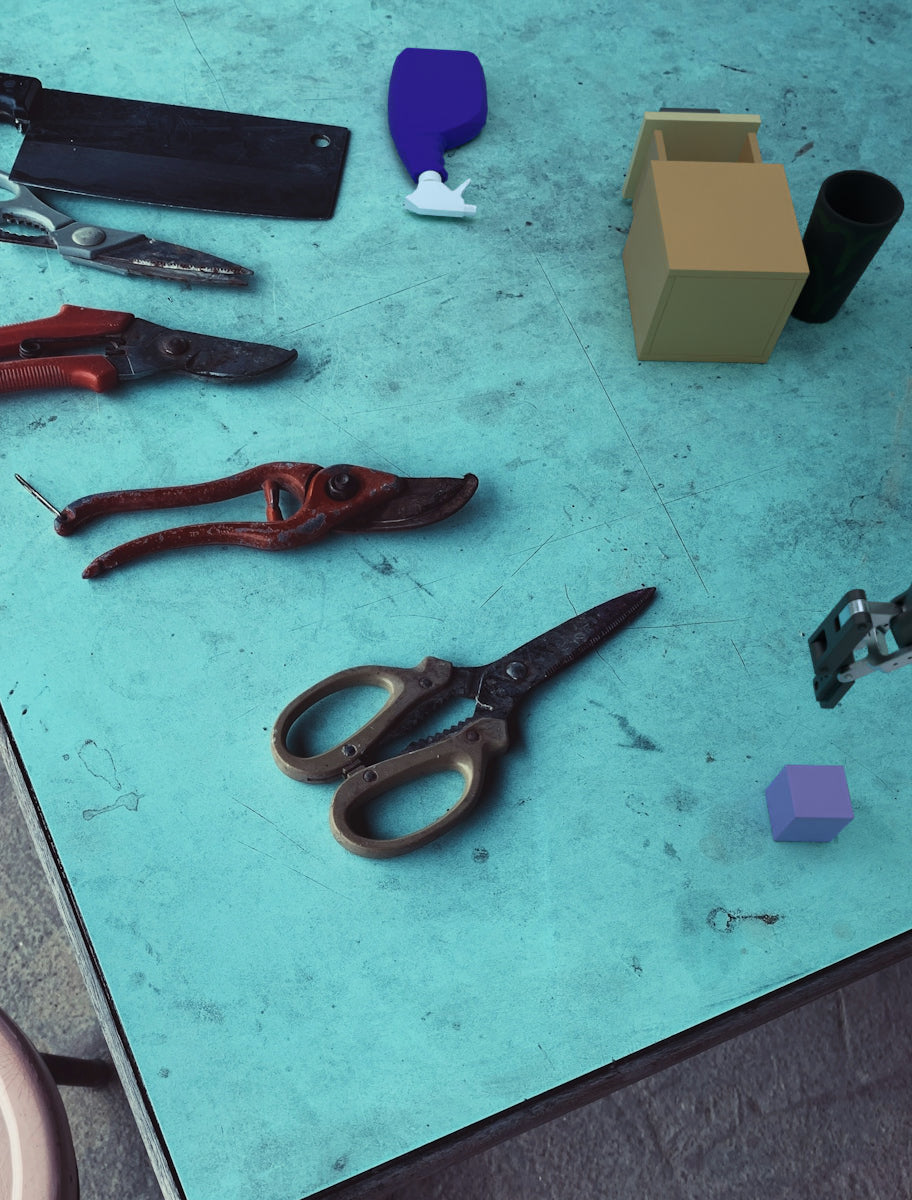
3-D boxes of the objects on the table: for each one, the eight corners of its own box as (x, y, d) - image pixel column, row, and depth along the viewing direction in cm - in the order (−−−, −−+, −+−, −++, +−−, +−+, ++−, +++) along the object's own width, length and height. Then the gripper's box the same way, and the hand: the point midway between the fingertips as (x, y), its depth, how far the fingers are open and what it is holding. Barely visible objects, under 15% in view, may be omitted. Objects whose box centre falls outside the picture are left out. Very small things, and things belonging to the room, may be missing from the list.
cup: (808, 266, 122) (859, 158, 111) (864, 310, 120) (922, 204, 109) (755, 296, 120) (802, 189, 109) (811, 342, 117) (865, 237, 107)
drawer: (617, 163, 127) (639, 83, 119) (723, 166, 127) (753, 86, 119) (635, 282, 119) (660, 204, 111) (748, 285, 119) (782, 208, 112)
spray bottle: (390, 44, 132) (385, 197, 121) (489, 49, 132) (492, 203, 121) (388, 70, 134) (382, 222, 124) (485, 75, 134) (487, 228, 124)
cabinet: (622, 255, 122) (650, 159, 113) (744, 258, 122) (783, 163, 113) (637, 360, 116) (669, 269, 106) (766, 363, 116) (810, 272, 107)
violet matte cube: (820, 791, 96) (844, 765, 92) (830, 842, 94) (855, 818, 90) (764, 790, 96) (785, 764, 92) (773, 841, 94) (795, 817, 90)
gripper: (907, 598, 64) (790, 745, 79) (1169, 605, 64) (1004, 750, 79) (879, 489, 67) (772, 649, 82) (1128, 496, 68) (977, 655, 82)
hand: (886, 699), depth 80 cm, fingers open, 8 cm apart
